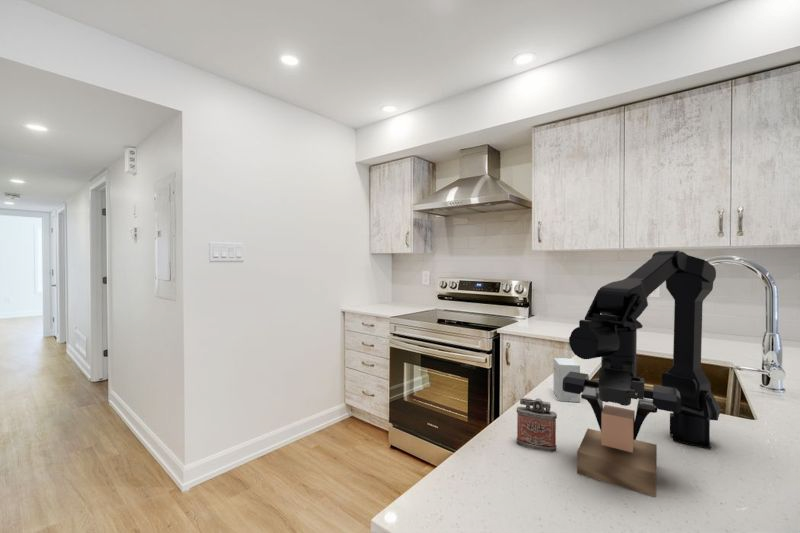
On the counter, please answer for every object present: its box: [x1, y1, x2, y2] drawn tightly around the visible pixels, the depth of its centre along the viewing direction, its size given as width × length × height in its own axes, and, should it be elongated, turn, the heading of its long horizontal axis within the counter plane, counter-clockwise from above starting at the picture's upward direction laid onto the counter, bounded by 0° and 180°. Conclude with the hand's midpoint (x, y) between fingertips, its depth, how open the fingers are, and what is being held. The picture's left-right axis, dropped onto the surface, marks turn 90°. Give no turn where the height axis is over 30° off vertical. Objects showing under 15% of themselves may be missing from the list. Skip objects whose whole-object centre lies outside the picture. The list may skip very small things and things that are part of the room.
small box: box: [552, 357, 581, 403], centre depth 107 cm, size 8×6×10 cm
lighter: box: [515, 396, 558, 453], centre depth 79 cm, size 8×3×10 cm, turn 65°
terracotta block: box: [600, 404, 636, 453], centre depth 70 cm, size 5×5×6 cm
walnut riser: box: [576, 428, 658, 498], centre depth 70 cm, size 12×12×4 cm
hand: (617, 435), depth 70 cm, fingers closed on terracotta block, 5 cm apart
